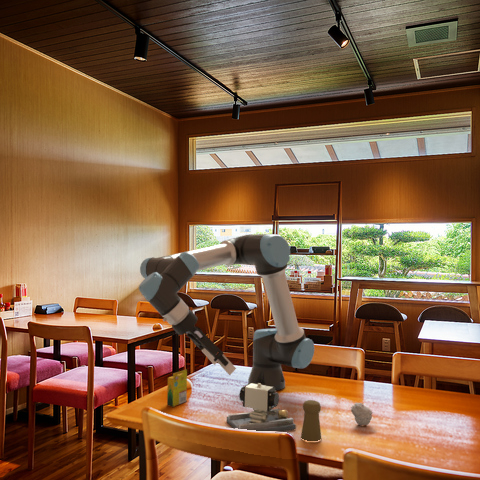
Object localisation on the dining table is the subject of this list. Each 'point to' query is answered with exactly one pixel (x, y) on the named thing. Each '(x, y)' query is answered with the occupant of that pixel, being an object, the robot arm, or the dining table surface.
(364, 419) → the gray rock
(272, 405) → the pneumatic valve
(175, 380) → the crayon box
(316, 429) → the olive pepper shaker
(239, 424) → the grey tray
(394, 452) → the dining table surface
